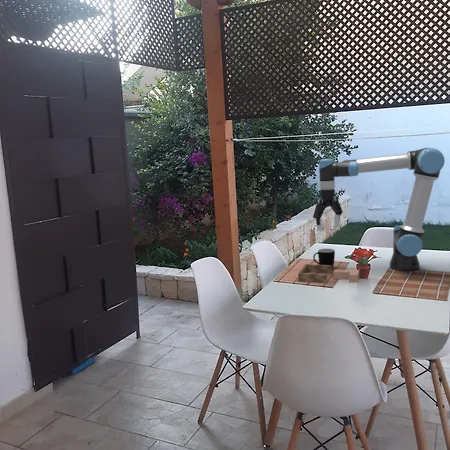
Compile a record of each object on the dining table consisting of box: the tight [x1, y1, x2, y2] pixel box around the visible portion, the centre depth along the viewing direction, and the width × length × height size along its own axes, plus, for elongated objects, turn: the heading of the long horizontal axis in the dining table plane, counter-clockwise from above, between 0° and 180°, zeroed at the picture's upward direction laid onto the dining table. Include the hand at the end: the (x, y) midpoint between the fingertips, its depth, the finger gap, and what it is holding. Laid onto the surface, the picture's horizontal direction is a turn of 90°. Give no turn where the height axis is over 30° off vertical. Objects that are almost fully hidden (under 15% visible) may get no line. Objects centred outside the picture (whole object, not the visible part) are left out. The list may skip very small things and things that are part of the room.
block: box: [333, 267, 360, 284], centre depth 239 cm, size 12×12×4 cm
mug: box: [312, 248, 336, 269], centre depth 259 cm, size 12×9×10 cm
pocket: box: [297, 263, 333, 284], centre depth 244 cm, size 14×18×4 cm
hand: (328, 229), depth 246 cm, fingers open, 13 cm apart
